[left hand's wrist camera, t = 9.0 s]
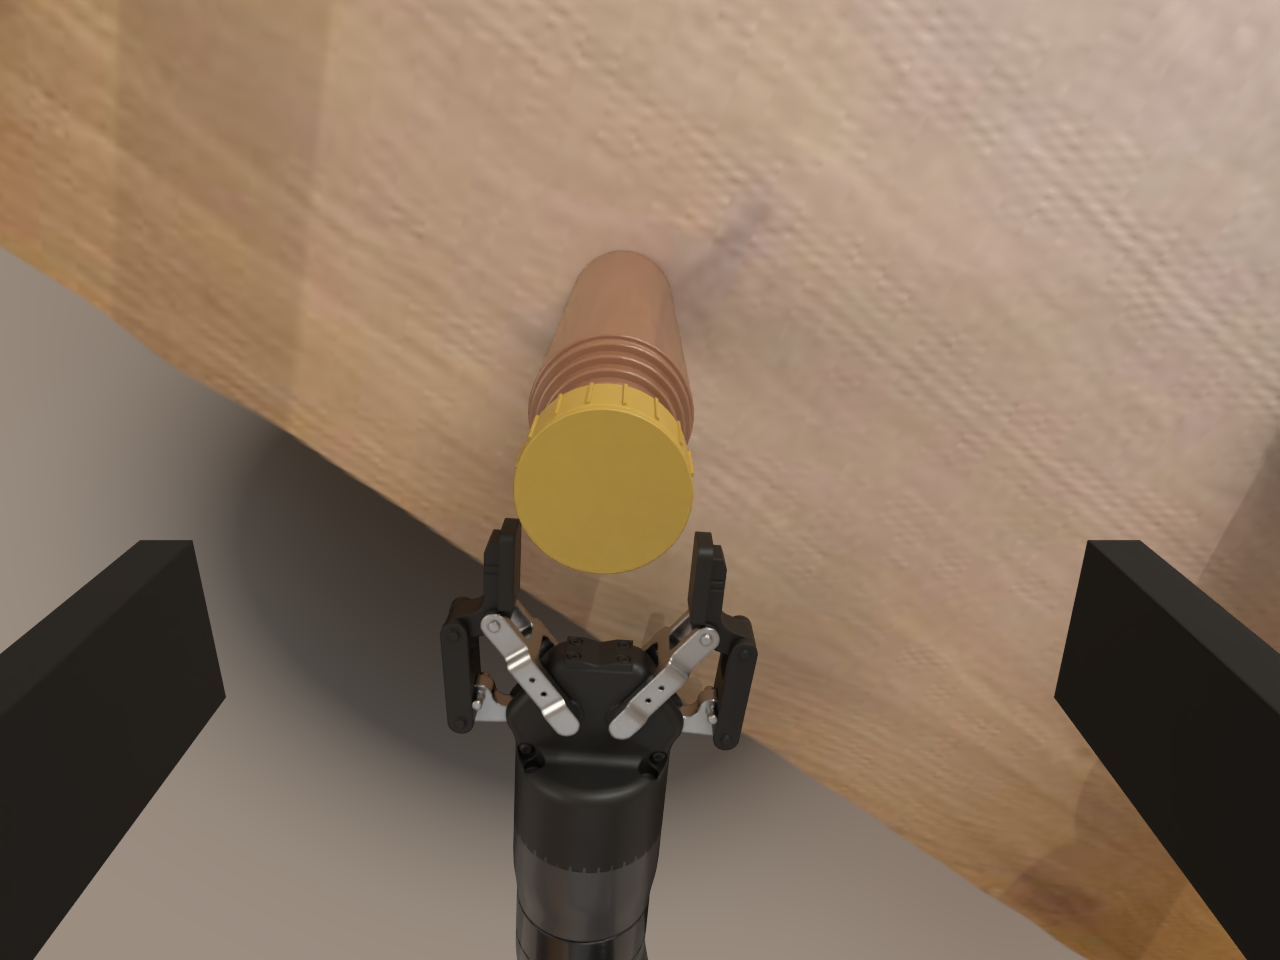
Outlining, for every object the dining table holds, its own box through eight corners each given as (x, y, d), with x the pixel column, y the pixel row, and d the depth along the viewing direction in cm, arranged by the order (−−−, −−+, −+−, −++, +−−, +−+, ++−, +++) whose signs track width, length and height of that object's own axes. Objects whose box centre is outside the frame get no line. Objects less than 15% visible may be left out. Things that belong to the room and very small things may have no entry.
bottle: (625, 228, 39) (608, 343, 18) (692, 304, 40) (750, 493, 19) (552, 298, 40) (456, 482, 19) (620, 369, 42) (600, 615, 21)
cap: (610, 345, 20) (606, 369, 18) (723, 466, 21) (732, 500, 19) (489, 457, 21) (473, 489, 19) (603, 566, 22) (599, 607, 20)
